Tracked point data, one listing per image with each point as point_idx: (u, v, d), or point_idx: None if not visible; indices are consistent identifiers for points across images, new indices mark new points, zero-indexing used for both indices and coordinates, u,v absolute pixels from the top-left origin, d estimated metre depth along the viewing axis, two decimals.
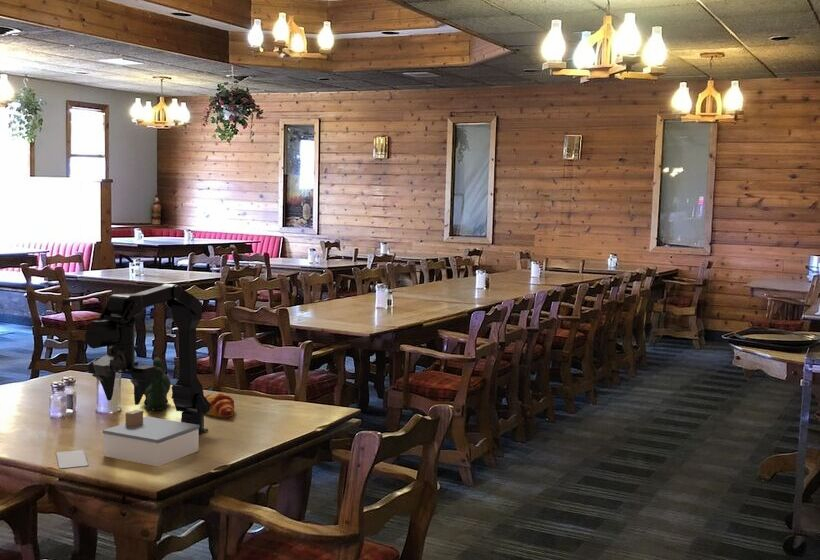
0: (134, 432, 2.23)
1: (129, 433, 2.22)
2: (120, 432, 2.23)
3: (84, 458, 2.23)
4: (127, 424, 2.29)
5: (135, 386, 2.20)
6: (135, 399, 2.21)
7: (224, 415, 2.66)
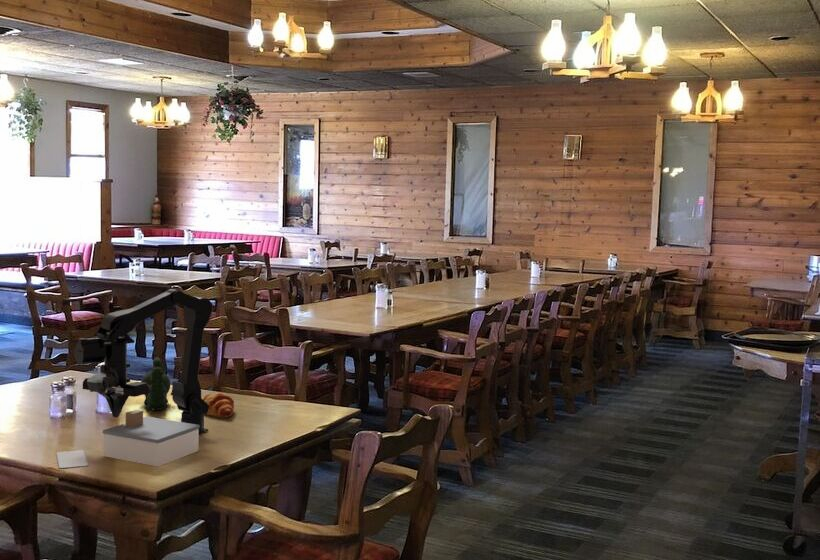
0: (134, 432, 2.23)
1: (129, 433, 2.22)
2: (120, 432, 2.23)
3: (84, 458, 2.23)
4: (127, 424, 2.29)
5: (114, 400, 2.31)
6: (114, 412, 2.32)
7: (223, 415, 2.66)
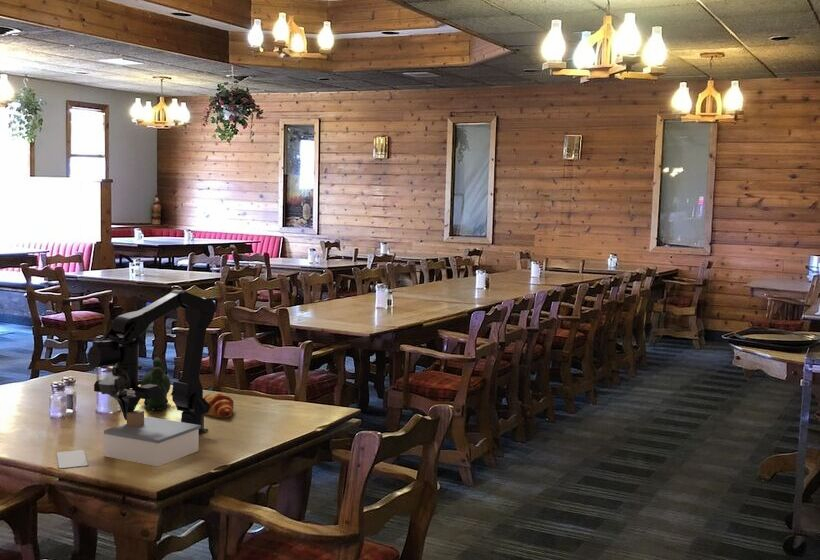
0: (135, 432, 2.23)
1: (130, 433, 2.22)
2: (121, 432, 2.23)
3: (84, 458, 2.23)
4: (128, 424, 2.29)
5: (126, 402, 2.30)
6: (126, 415, 2.31)
7: (222, 415, 2.66)
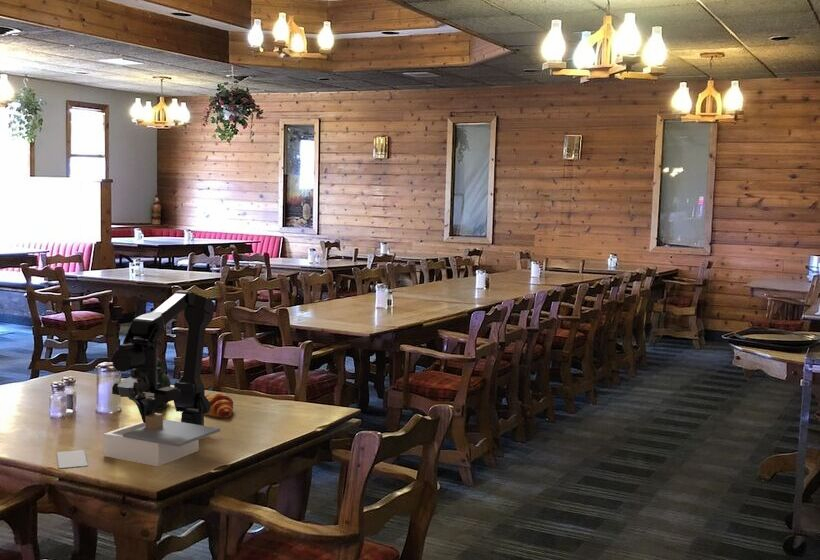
0: (155, 436, 2.21)
1: (150, 437, 2.19)
2: (140, 436, 2.20)
3: (84, 458, 2.23)
4: (147, 427, 2.27)
5: (145, 405, 2.27)
6: None
7: (222, 415, 2.66)
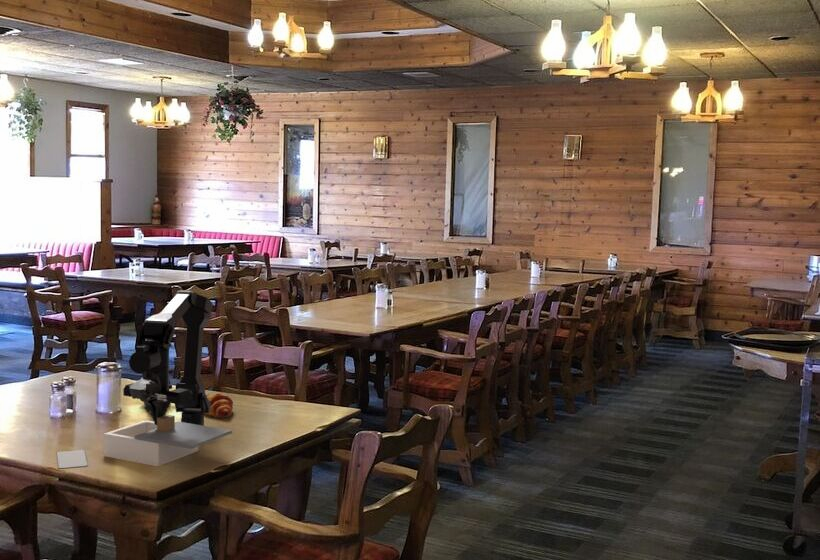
0: (167, 438, 2.19)
1: (162, 439, 2.18)
2: (152, 438, 2.19)
3: (84, 458, 2.23)
4: (159, 429, 2.25)
5: (156, 407, 2.25)
6: (156, 420, 2.27)
7: (221, 415, 2.66)
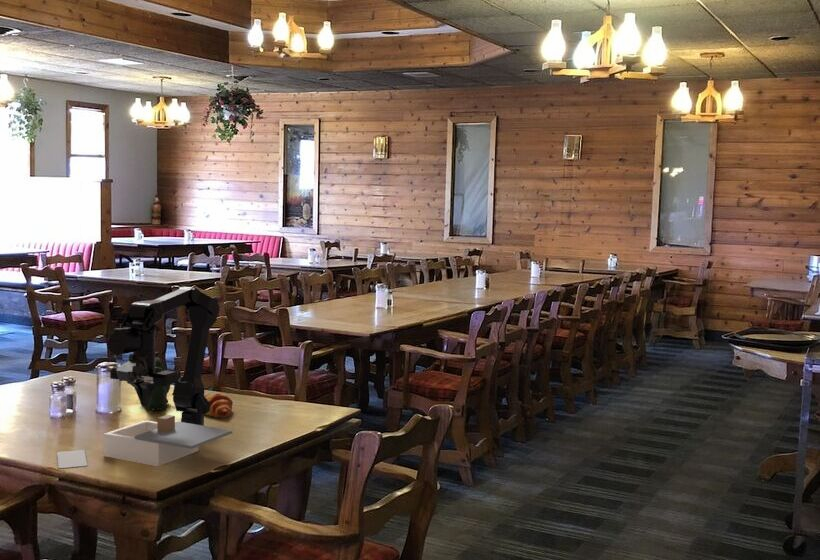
0: (167, 438, 2.19)
1: (162, 439, 2.18)
2: (153, 438, 2.19)
3: (84, 458, 2.23)
4: (159, 429, 2.25)
5: (143, 389, 2.29)
6: (143, 401, 2.30)
7: (220, 415, 2.66)
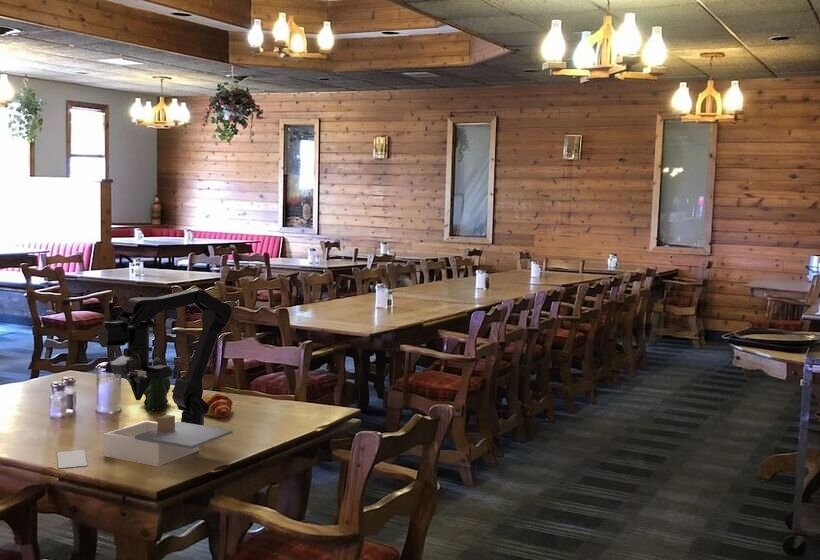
0: (167, 438, 2.19)
1: (162, 439, 2.18)
2: (153, 438, 2.19)
3: (84, 458, 2.23)
4: (159, 429, 2.25)
5: (137, 383, 2.35)
6: (137, 395, 2.36)
7: (219, 415, 2.66)
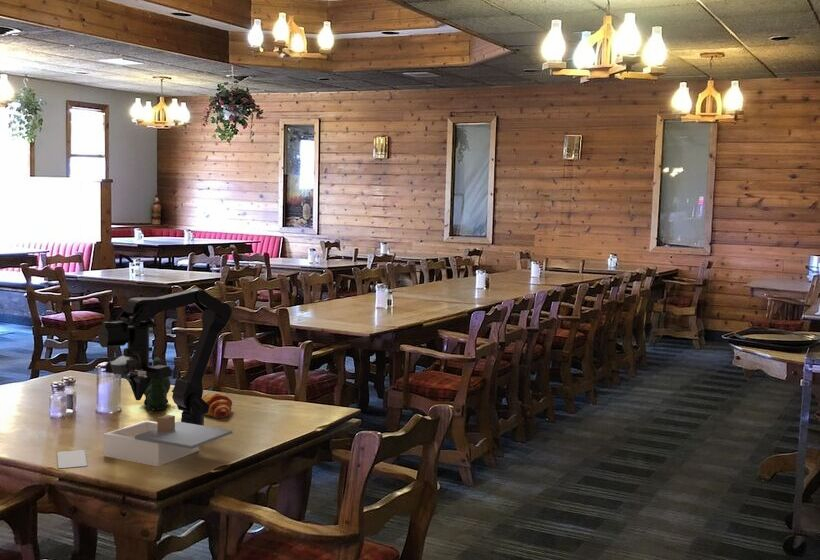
0: (167, 438, 2.19)
1: (162, 439, 2.18)
2: (153, 438, 2.19)
3: (84, 458, 2.23)
4: (159, 429, 2.25)
5: (137, 383, 2.35)
6: (137, 395, 2.36)
7: (219, 415, 2.66)
